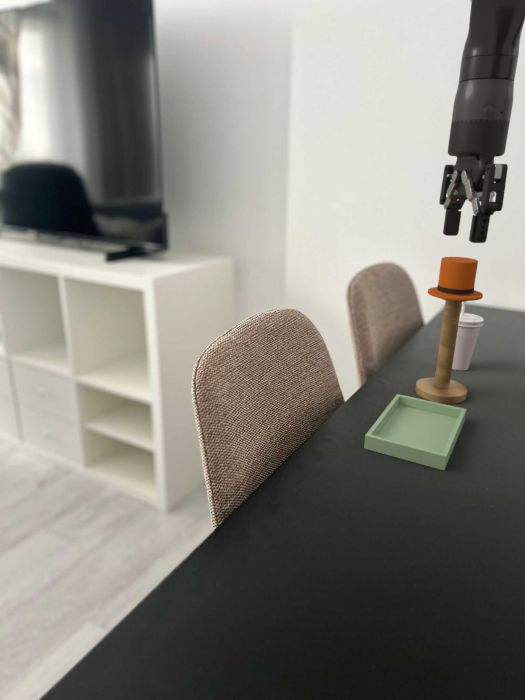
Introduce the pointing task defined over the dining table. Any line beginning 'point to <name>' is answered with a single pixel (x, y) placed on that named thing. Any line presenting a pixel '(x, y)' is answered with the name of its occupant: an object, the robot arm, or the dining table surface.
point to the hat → (457, 280)
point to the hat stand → (445, 362)
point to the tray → (417, 431)
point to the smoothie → (466, 339)
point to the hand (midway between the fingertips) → (462, 238)
